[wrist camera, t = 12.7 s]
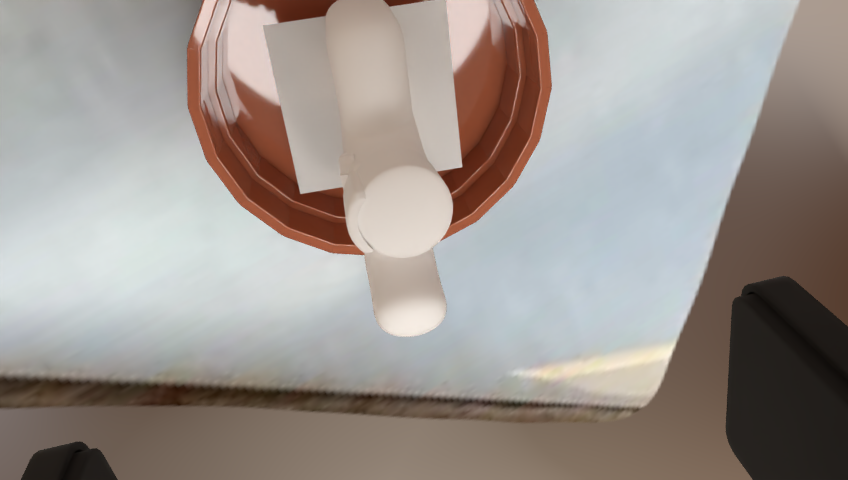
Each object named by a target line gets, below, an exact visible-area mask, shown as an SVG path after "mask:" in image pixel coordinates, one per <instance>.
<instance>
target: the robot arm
mask: <svg viewBox="0 0 848 480" xmlns="http://www.w3.org/2000/svg"><path fill="white" fill-rule="evenodd" d="M726 434H727V439H728V442H729V444H730V446H731V449H732V451H733V452H734V454H735V455H736V457H737V458H738V460H739V461H740V462H741V464H742V465H743V467H744V468H745V469H746V471H747V472H748V473H749V475H750V476H751V478H752V479H753V480H848V326H847V325H845V324H844V323H843V322H842V321H841V320H840V319H838V318H837V317H836V316H835V315H834V314H833V313H831V312H830V311H829V310H828V309H827V308H825V307H824V306H823V305H822V304H821V303H820V302H819V301H818V300H816V299H815V298H814V297H813V296H812V295H811V294H809V293H808V292H807V291H806V290H804V288H802V287H801V286H800V285H799V284H798V283H797V282H795V281H794V280H793V279H791V278H790V277H786V276H782V277H777V278H773V279H769V280H764V281H761V282H756V283H752V284H748V285H746V286H745V287H744V288H743V290H742V294H741V296H740V297H737V298H735V299H734V301H733V304H732V317H731V336H730V356H729V375H728V394H727V413H726ZM21 480H117V478H116V476H115V474H114V473H113V471H112V469H111V467H110V466H109V464H108V462H107V460H106V459H105V457H104V455H103V454H102V452H101V451H100V450H98V449H97V448H96V449H89V448H88V446H87V445H86V444H84V443H83V442H74V443H70V444H65V445H61V446H57V447H52V448H48V449H44V450H40V451H38V452H36V453H35V454H34V455H33V457H32V458H31V459H30V462H29V464H28V466H27V468H26V470H25V472H24V474H23V477H22V478H21Z"/></svg>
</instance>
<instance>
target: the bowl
mask: <svg viewBox="0 0 848 480" xmlns="http://www.w3.org/2000/svg"><path fill="white" fill-rule="evenodd" d="M336 1H338V0H203V2H202V4H201V7H200V10H199V13H198V16H197V19H196V22H195V25H194V28H193V31H192V34H191V37H190V40H189V43H188V48H187V99H188V109H189V112H190V115H191V118H192V121H193V123H194V126H195V129H196V132H197V135H198V138H199V141H200V144H201V146H202V149H203V152H204V155H205V158H206V160H207V162H208V163H209V165H210V166H211V167H212V169H213V170H214V171H215V173H216V174H217V175H218V177H219V178H220V179H221V181H222V182H223V183H224V185H225V186H226V187H227V189H228V190H229V191H230V192H231V194H232V195H233V196H234V198H235V199H236V200H237V202H238V203H239V204H240V205H241V206H242V207H244V208H245V209H246V210H248V211H249V212H251V213H252V214H253V215H255V216H256V217H258V218H259V219H260V220H262V221H263V222H264V223H266V224H267V225H269V226H270V227H271V228H273V229H274V230H276V231H277V232H278V233H280V234H281V235H283V236H285V237H287V238H290V239H293V240H296V241H299V242H302V243H305V244H307V245H310V246H313V247H316V248H319V249H322V250H325V251H327V252H330V253H338V254H355V255H364V253H363V252H362V251H361V250H360V249H359V248H358V247H357V246H356V245H355V244H354V242H353V241H352V239H351V237H350V235H349V233H348V229H347V224H346V216H345V209H344V201H343V193H344V190H343V187H340V188H334V189H328V190H322V191H316V192H310V193H304V194H300V190H299V186H298V181H297V177H296V172H295V168H294V163H293V159H292V154H291V150H290V145H289V141H288V136H287V132H286V127H285V123H284V119H283V114H282V110H281V105H280V101H279V96H278V92H277V87H276V83H275V78H274V74H273V69H272V65H271V60H270V56H269V51H268V47H267V42H266V38H265V33H264V29H263V25H269V24H276V23H283V22H289V21H296V20H303V19H310V18H316V17H323V16H326V13H327V11H328V9H329V8H330V6H331V5H332V4H333V3H335V2H336ZM384 1H385V2H386V3H387V4H388V6H389V7H391V6H397V5H404V4H411V3H418V2H424V1H431V0H384ZM446 7H447V17H448V27H449V37H450V47H451V57H452V68H453V78H454V88H455V98H456V108H457V118H458V128H459V139H460V149H461V159H462V167H461V168H455V169H449V170H443V171H437V172H438V174H439V175H440V177H441V178H442V179H443V181H444V182H445V184H446V185H447V187H448V189H449V191H450V194H451V196H452V202H453V215H452V220H451V223H450V226H449V228H448V230H447V232H446V234H445V235H444V237H443V238H442V239H441V240H443V239H445V238H447V237H449V236H451V235H452V234H454V233H456V232H458V231H460V230H462V229H464V228H466V227H467V226H469V225H471V224H473V223H475V222H476V221H478V220H479V219H480V218H481V217H482V216H483V215H484V214H485V213H486V212H487V211H488V210H489V209H490V208H491V207H492V206H493V205H494V204H495V203H496V202H498V201H499V200H500V199H501V198H502V197H503V196H504V195H505V194H506V193H507V192H508V191H509V190H510V189H511V188H512V187H513V186H514V184H515V183H516V181H517V179H518V178H519V176H520V174H521V172H522V171H523V169H524V167H525V165H526V164H527V162H528V160H529V158H530V156H531V155H532V153H533V151H534V149H535V148H536V146H537V144H538V142H539V139H540V137H541V133H542V129H543V124H544V120H545V115H546V111H547V106H548V102H549V98H550V93H551V89H552V88H551V87H552V83H551V71H550V59H549V47H548V35H547V30H546V27H545V25H544V23H543V20H542V18H541V16H540V13H539V11H538V9H537V6H536V4H535V1H534V0H446ZM441 240H440V241H441Z"/></svg>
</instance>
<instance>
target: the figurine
mask: <svg viewBox="0 0 848 480" xmlns="http://www.w3.org/2000/svg"><path fill="white" fill-rule="evenodd" d="M263 29H264V33H265V38H266V42H267V47H268V51H269V56H270V60H271V65H272V69H273V74H274V78H275V83H276V87H277V92H278V96H279V101H280V105H281V110H282V114H283V119H284V123H285V127H286V132H287V136H288V141H289V145H290V150H291V154H292V159H293V163H294V168H295V172H296V177H297V181H298V186H299V190H300V194H304V193H310V192H316V191H322V190H328V189H334V188H340V187H343V190H344V193H343V201H344V209H345V216H346V224H347V229H348V233H349V235H350V237H351V239H352V241H353V242H354V244H355V245H356V246H357V247H358V248H359V249H360V250H361V251H362V252H363V253H364V256H365V263H366V269H367V274H368V279H369V284H370V290H371V296H372V302H373V309H374V315H375V318H376V321H377V323H378V324H379V326H380V327H381V328H382V329H383V330H384V331H385V332H387V333H389V334H391V335H395V336H401V337H411V336H417V335H421V334H424V333H427V332H429V331H431V330H433V329H434V328H436V327H437V326H438V325H439V324H440V323H441V322H442V321H443V319H444V317H445V314H446V305H447V304H446V299H445V295H444V292H443V289H442V286H441V282H440V278H439V274H438V270H437V266H436V261H435V257H434V252H433V247H434V246H435V245H436V244H437V243H438V242H440V240H441V239H442V238H443V237H444V235H445V234H446V232H447V230H448V228H449V226H450V223H451V220H452V215H453V202H452V196H451V194H450V191H449V189H448V187H447V185H446V184H445V182H444V181H443V179H442V178H441V177H440V175H439V174H438V172H437V171H443V170H449V169H455V168H461V167H462V159H461V149H460V139H459V128H458V118H457V108H456V98H455V88H454V78H453V68H452V57H451V47H450V37H449V27H448V17H447V7H446V0H431V1H424V2H418V3H411V4H404V5H397V6H391V7H389V6H388V4H387V3H386V2H385V1H384V0H338V1H336V2H335V3H333V4H332V5H331V6H330V8H329V9H328V11H327V13H326V16H323V17H316V18H310V19H303V20H296V21H289V22H283V23H276V24H269V25H263Z"/></svg>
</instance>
